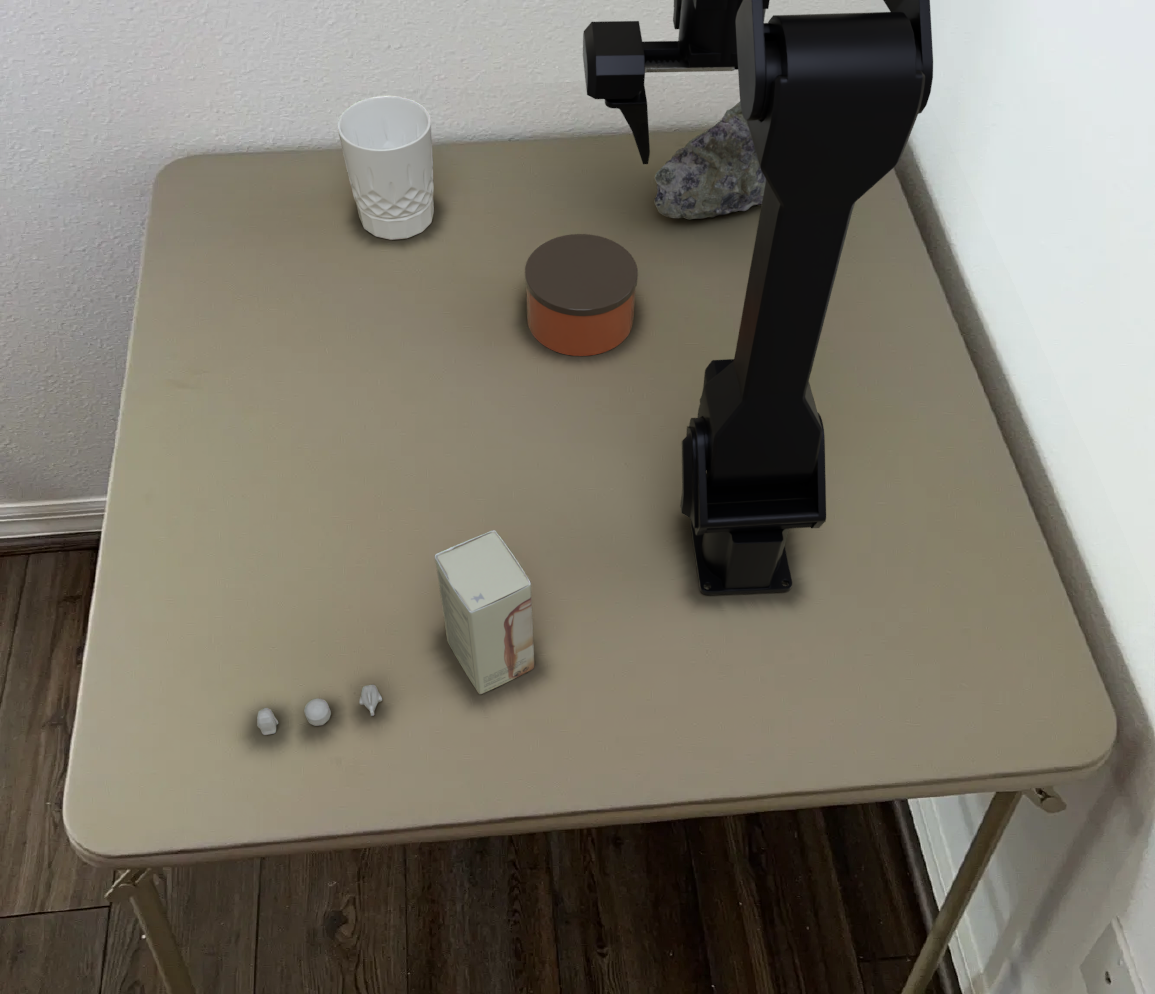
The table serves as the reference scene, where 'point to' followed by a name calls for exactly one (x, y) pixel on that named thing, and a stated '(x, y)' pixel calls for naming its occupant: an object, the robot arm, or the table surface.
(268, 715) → the game pieces
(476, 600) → the cream cardboard box
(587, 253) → the jar
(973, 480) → the table surface
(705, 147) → the mineral rock
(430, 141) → the white cup
